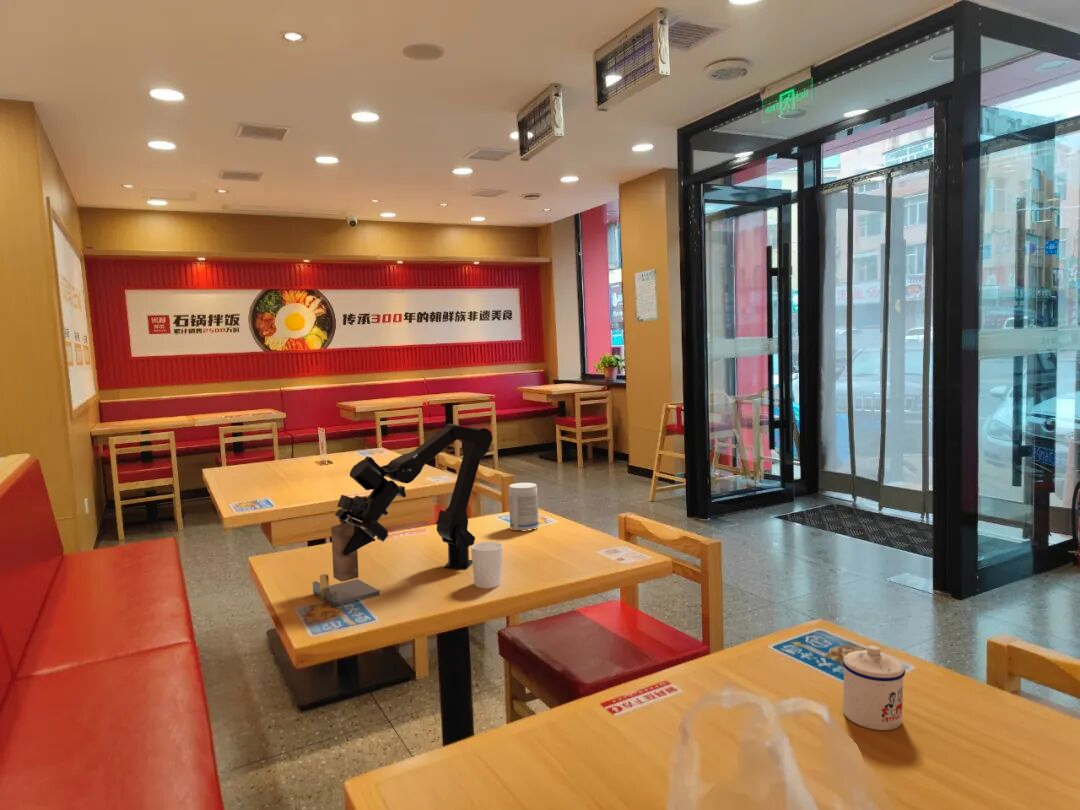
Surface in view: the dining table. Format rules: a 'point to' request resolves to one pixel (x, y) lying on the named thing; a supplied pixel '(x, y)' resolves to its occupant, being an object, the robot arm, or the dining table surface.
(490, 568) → the white cup
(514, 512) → the supplement tub
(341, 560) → the walnut post
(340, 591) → the keeper plate
